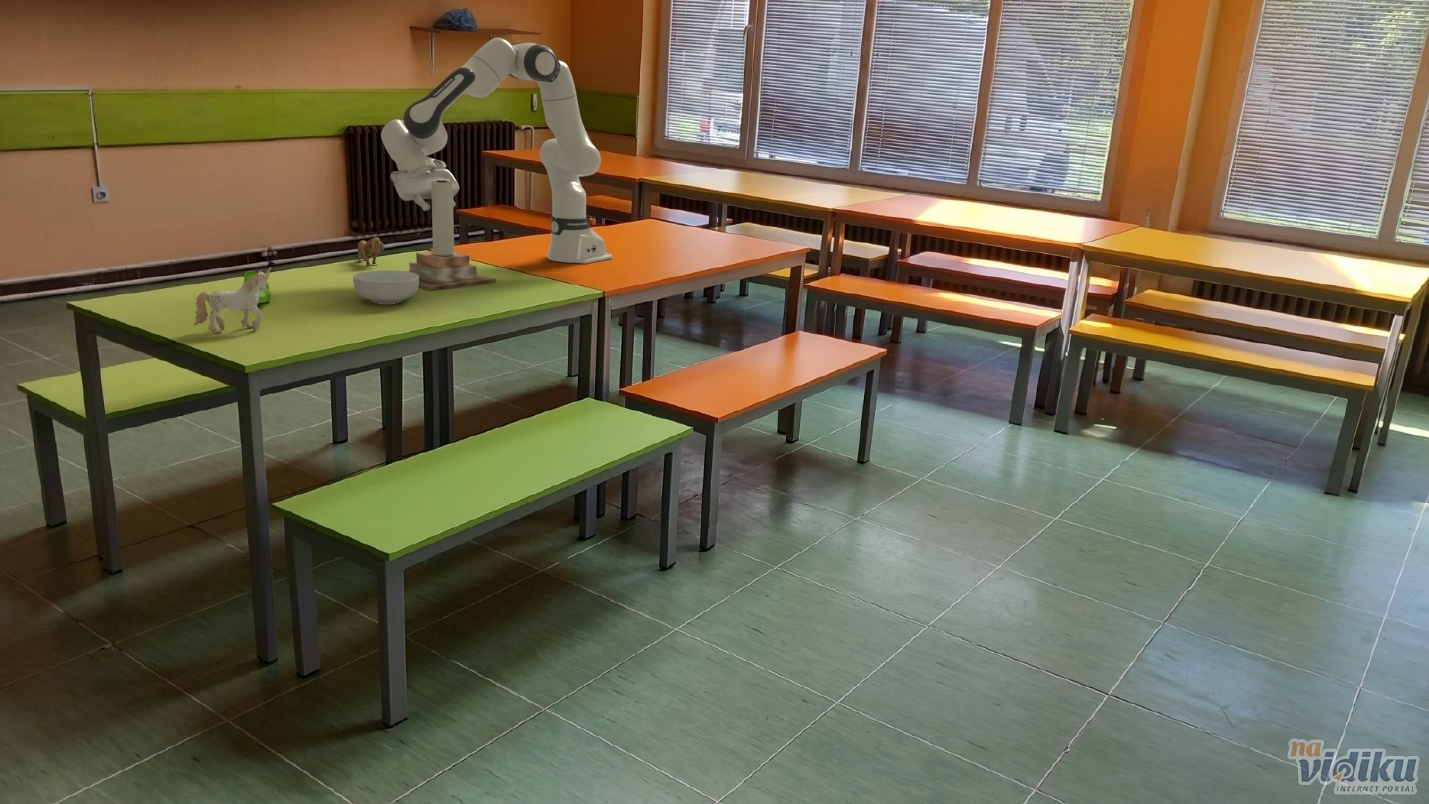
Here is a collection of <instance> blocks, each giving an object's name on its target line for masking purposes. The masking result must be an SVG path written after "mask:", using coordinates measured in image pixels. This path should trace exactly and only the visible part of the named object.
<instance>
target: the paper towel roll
mask: <svg viewBox="0 0 1429 804" xmlns="http://www.w3.org/2000/svg"><path fill="white" fill-rule="evenodd" d="M431 191H432V198H431V218H432V219H431V220H432V251H433V254H434V255H439V256H450V255H454V251H455V237H454V236H455V235H454V232H455V231H454V228H455V227H454V223H455V222H454V208H453V200H454V196H453V182H452V181H450V180H449V181H445V180H438V181H431Z"/></svg>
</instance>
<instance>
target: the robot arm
mask: <svg viewBox="0 0 1429 804" xmlns="http://www.w3.org/2000/svg"><path fill="white" fill-rule="evenodd" d="M508 76H510V77H512V78H514V79H519V80H523V81H526V82H527V81H528V82H529V81H530V82H532V81H535V82H536V83H537V84H538V87H539V90H540V95H541V97H540V98H541V102H542V107H543V114H544V118H545V123H546V125H547V127H548V128H549V129H550V131H551V132H552V133H553V135H554V137H555V138H550V139H546V140H545V141H544V142H543V143H542V144H541V147H540V150H539V159H540V161H541V163H542V164H543V166H544V167H545V169H546V172H547V176H548V179H549V183H550V188H551V189H550V190H551V198H552V199H551V201H552V203H551V204H552V206H551V207H552V209H551V211H552V212H551V213H552V215H551V217H550V231H551V233H550V234H551V236H550V244H549V248H548V249H549V250H548V254H547V256H546V259H547V260H550V261H553V262H559V263H574V264H575V263H576V264H590V263H594V262H599V261H600V262H601V261H605V260H606V261H607V260H611V259H613V255H612V254H611V253H609V252H607V251H606V243H605V240H604V239H603V237H601V236H600V235H599V234H598V233H597V232H595V230H593V229H592V228H591V226H590V225H592V226H593V225H596V222H597V220H596V219H595V218H592V217H589V218H588V216H587V193H586V191H585V189H584V188H583V186H582V183H581V181H580V177H588V176H592V175H594V174H595V173H597V172H598V171H599V169H600V166H601V164H602V157H601V154H600V152H599V149H598V148H596V146H595V145H594V144H593V143H592V141H591V139H590V137H589V135H588V133H587V130H586V128H585V126H584V124H583V121H582V117H581V113H580V106H579V103H578V97H577V91H576V87H575V86H576V85H575V83H574V79H573V75H572V73H571V70H570V68H569V66H568V64H567V63H566V62H564V61H562V60H559V59H558V58H557V55H556V54H555V52H554V51H553V50H552V49H551V48H550V47H548V46H546V45H544V44H541V43H540V44H539V43H535V42H523V43H521V42H515V43H510V42H509V41H508V40H507V39H504V38H502V37H494V38H492V39H490V40H489V41H487V42H486V43H484V44H483V46H481V47H480V48H479V49H478V50H477V51H476V52H475V53H474V54H473V55H472V56H471V57H470V58H469V59H468V60H467V61H466V62H465V63H464V64H463V65H462V66H461V67H459V68H457V69H456V70H454V71H452V72H451V73H450V74H449V75H448V76H447V77H446V78H444V80H442V81H441V82H440V83H439V84H438V85H437V86H435V88H433V89H432V90H431V91H430V92H429V93H428V94H426V96H424V97H421V98H420V99H419V100H417V101H414V102H413V103H411V104H410V105H408V106H407V108H406V109H405V110H404V114H403V117H402V118H403V120H401V119H397V118H396V119H391V120H390V121H388V122H387V123H385V125H384V126H383V128H382V131H381V133H380V134H381V135H380V136H381V140H382V144H383V145H384V147H385V150H386V151H387V153H388V155H389V156H390V159H392V160H393V161H394V162H395V164H396V167H397V170H398V171H396V170H395V171H394V170H393V171H392V172H391V174H390V179H391V181H392V182H393V185H394V187H395V190H396V192H397V194H398V196H399V198H400V199H401V200H403V201H405V202H406V201H414V203H415V204H417V205H418V206H419V207H421V208H422V210H423V211H425V212H427V211H430V209H432V205H430V203H429V202H427V201H425V199H426V200H427V199H432V191H431V181H438V180H445V181H449V180H450V181H452V182H453V197H454V196H456V194H458V192H459V190H460V186H459V182H458V181H457V179H455V177H454V175H453V173H452V172H451V171H450V170H449V169H447V164H446V163H445V162H444V161H443V160H438V159H435V158H432V157H429V156H430V155H434V154H436V153H438V152H440V151H442V150H443V149H444V148H445V147H446V145H447V143H448V140H449V139H448V137H449V136H448V131H447V130H446V128H445V126H444V123H443V121H442V117H443V114H444V112H445V111H447V109H448V108H450V107H451V106H452V105H453V104H454V103H455V102H456V101H457V100H458V99H459V98H460V97H462V96H464V95H468V96H471V97H474V98H479V99H480V98H481V99H483V98H486V97H488V96H489V95H490V94H492V93H493V92H494V91H495V90H496V89H497V88H498V87H499V85H501V83H502V82H504V80H505V79H506V78H507V77H508ZM456 205H457V204H456V202H455V201H454V199H453V209H454V208H455V207H456Z"/></svg>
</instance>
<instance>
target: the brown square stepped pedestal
mask: <svg viewBox="0 0 1429 804" xmlns="http://www.w3.org/2000/svg"><path fill="white" fill-rule="evenodd" d="M415 255H416V257H415V258H416V259H415V261H413V262H412V261H410V262H409V270H406V271H405V272H411V273H414V274H417V275H418V276H419V285H418V288H422V289H423V290H424V289H425V290H428V291H439V290H445V289H455V288H461V287H462V288H463V287H469V286H477V285H485V284H492V283H493V284H494V283H497V279H496V278H494V277H491V276H488V275H486V274H482V273H479V272H477V269H478V268H477V267H478V266H477V265H474V264H471V263H470V255H467V254H464V253H461V252H457V251H455V250H454V255H450V256H439V255H434V254H433V250H432V251H422V252H421V251H419V252H416V254H415Z"/></svg>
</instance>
